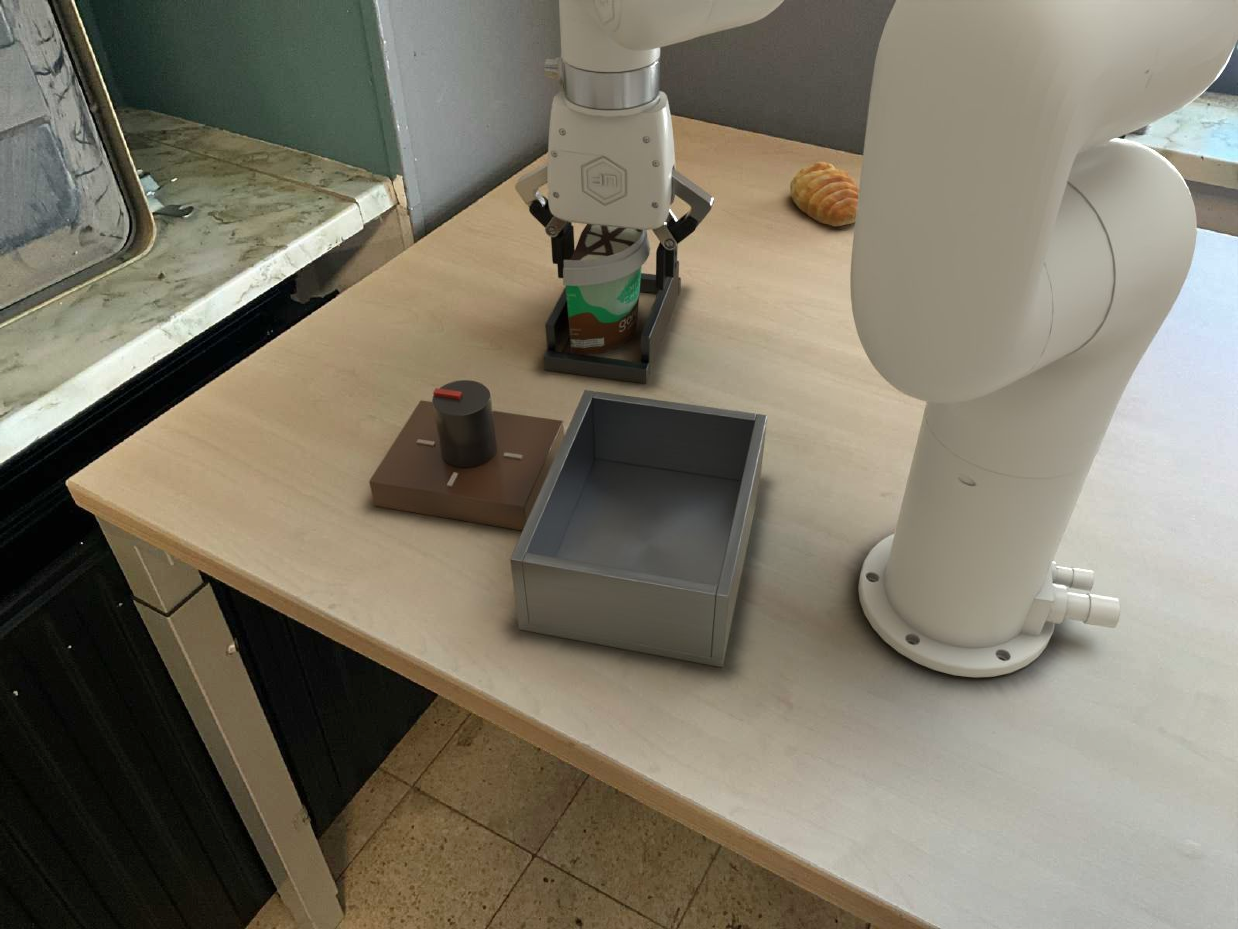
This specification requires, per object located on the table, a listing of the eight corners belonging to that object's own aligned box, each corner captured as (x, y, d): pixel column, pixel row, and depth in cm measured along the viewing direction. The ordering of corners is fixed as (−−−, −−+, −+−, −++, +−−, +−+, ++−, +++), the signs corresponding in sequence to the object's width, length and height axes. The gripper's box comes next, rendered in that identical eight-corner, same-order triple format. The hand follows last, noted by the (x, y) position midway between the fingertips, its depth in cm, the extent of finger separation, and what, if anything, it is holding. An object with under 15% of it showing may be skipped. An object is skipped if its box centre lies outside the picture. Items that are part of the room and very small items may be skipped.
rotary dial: (565, 444, 80) (563, 418, 78) (527, 531, 73) (524, 505, 71) (424, 423, 82) (420, 398, 80) (374, 506, 75) (368, 479, 73)
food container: (635, 370, 87) (635, 270, 80) (567, 363, 88) (561, 263, 81) (659, 296, 96) (661, 200, 90) (597, 290, 97) (594, 194, 90)
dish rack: (680, 290, 97) (681, 254, 94) (646, 383, 86) (646, 345, 83) (589, 279, 99) (587, 243, 96) (543, 370, 87) (540, 331, 85)
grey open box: (759, 484, 76) (767, 414, 72) (722, 668, 63) (729, 597, 59) (587, 458, 79) (584, 389, 74) (518, 629, 66) (509, 559, 61)
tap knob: (504, 436, 77) (497, 380, 73) (486, 471, 74) (478, 415, 70) (453, 428, 78) (444, 373, 74) (433, 463, 74) (422, 407, 71)
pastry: (877, 224, 106) (883, 191, 104) (820, 235, 105) (824, 202, 102) (836, 187, 113) (840, 154, 110) (781, 196, 111) (784, 164, 109)
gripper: (488, 88, 76) (508, 287, 87) (714, 107, 73) (703, 310, 84) (518, 54, 81) (533, 245, 93) (730, 70, 78) (718, 266, 90)
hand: (614, 275), depth 88 cm, fingers open, 8 cm apart
